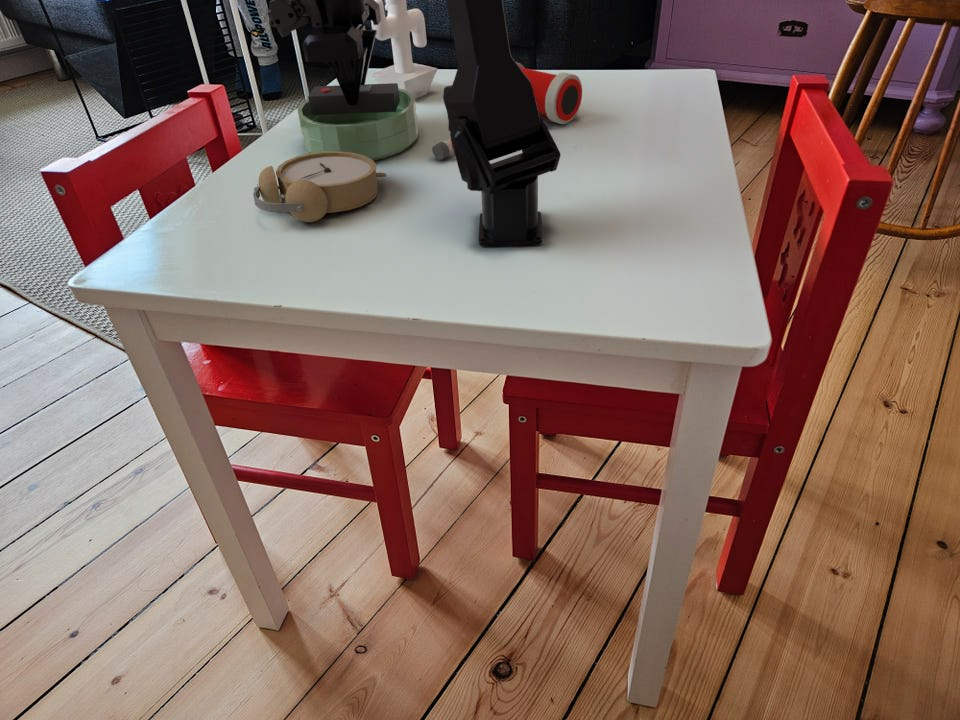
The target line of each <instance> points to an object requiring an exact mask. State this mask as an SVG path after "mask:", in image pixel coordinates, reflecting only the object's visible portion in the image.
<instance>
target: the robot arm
mask: <svg viewBox="0 0 960 720" xmlns="http://www.w3.org/2000/svg"><path fill="white" fill-rule="evenodd" d="M268 4H269V10H267V12H266V13H267V16H268V18H269V21H268V23H269V26H270V27H272V28H276V30H277V32H278V33H279V35H280V37H281V38H285V37H287V36H289V35H290V34H291V32H293V31H295V30H298V29H299V28H302V27H304V26H306V25H308V24H310V23H311V27H312V28H313V29H312V30H311V31H310V32H309V34H308V35H307V36H306V38H305V39H304V41H303V42H302V44H301V45H302V46H301V47H302V51H303V57H304V61H305V62H307V63H325V64H326V65H327V66H328V67H330V69H331V70H332V73H333V75H334V77H335V79H336V80H337V83H338V86H339V85H340V88H341V90H342V92H343V94H344V96H345V99H346V101H347V103H348V105H357V102H358V97H359V92H360V86H361V85H364V84H366V80H367V75H368V71H369V67H370V62H371V58H372V53H373V49H374V45H375V41H376V34H377V30H372V29H366V25H365V22H366V21H367V22H368V21H370V22H371V20H372V21H373V24H374V25H379V23H380V21H381V15H380V7H379V4H378V3H377V2H376V1H375V0H270V1H269V3H268ZM446 5H447V11H448V17H449V22H450V28H451V33H452V37H453V38H452V39H453V44H454V48H455V54H456V60H457V70H456V73H455V76H454V80H453V82H452V84H451V85H447V86H444V89H443V94H442V100H443V103H444V106H445V110H446V114H447V122H448V125H447V126H448V127H447V128H448V129H447V130H448V131H449V136H450V139H451V140H452V144H453V148H454V149H453V151H454V156H455V160H456V163H457V168H458V171H459V175H460V179H461V180H462V181H463V182H465V183H466V187H467V190H469V191H470V192H480V193H481V197H480V198H481V213H480V214H479V226H478V240H477V241H478V243H477V244H478V246H481V247H497V246H501V247H503V246H531V245H532V246H534V245H535V246H536V245H537V246H538V245H542V244H543V242H544V241H543V239H544V238H543V226H542V225H543V224H542V213H541V211H539V177H540V176H541V175H545V174H546V173H547V174H548V173H549V172H550V173H552V172H555V171H557V169H558V166H559V163H560V159H561V152H560V149H559V147H558V146H557V144H556V142H555V140H554V138H553V135H552V134H551V132H550V130H549V128H548V126H547V124H546V122H545V120H544V118H543V115H541V114H540V112H539V110H538V108H537V104H536V100H535V95H534V91H533V87H532V84H531V82H530V80H529V79H528V78H527V76H526V75H525V74H524V72H523V71H522V70H521V68H520V67H519V66H518V65H517V63H518V62H517V61H515V59H514V57H512V54H511V48H510V42H509V35H508V29H507V24H506V22H507V21H506V15H505V8H504V2H503V0H446ZM516 62H517V63H516ZM520 151H521V153H518V154H516V155H512V156H509V155H511V154H514V153H517V152H520ZM505 156H506V158H504V159H501V160H497V159H499V158H503V157H505ZM507 156H509V157H507ZM494 160H497V161H495V162H491V161H494ZM490 162H491V163H490Z"/></svg>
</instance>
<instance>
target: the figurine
mask: <svg viewBox="0 0 960 720" xmlns="http://www.w3.org/2000/svg"><path fill="white" fill-rule="evenodd" d="M375 1H376V2H377V3H378V4H379V7H380V15H381V21H380V23H379V25H374V24H373V21H372V20H370V22H371V30H377V34H376V37H375V39H376V40H378V41H386V40H389V39H390V41H391V49H392V58H393V64H392V65H389V66H387V67H384V68H382V69H379V70H376V71H374V72H371V73H370V75H371V77H372V78H373V79H374V81H375V83H376V84H389V83H397V84H398V88H400V89H403V90H405V91H407V92H409V93H411V94H412V95H413V97H414V98H415V100H416V99H418V98H420V97H423V96H426V95H427V94H428V92H429V90H430V87H431V85H432V83H433V80H434V79H435V77H436V74H437V71H438V69H439V68H438V67H433V66H430V65H424V64H419V63H416V62H413V53H412V44H411V36H412V42H413V45H414V47H416V48H425V47H426V46H427V44H428V43H427V41H428V40H427V32H426V31H427V30H426V20H425V16H424V13H423V11H421V9H419V8H411V9H408V8H407V7H408V6H407V5H408V4H407V0H384V1H383V0H375ZM384 3H385V5H384ZM385 11H387V13H386V14H385ZM410 34H411V35H410Z"/></svg>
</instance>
